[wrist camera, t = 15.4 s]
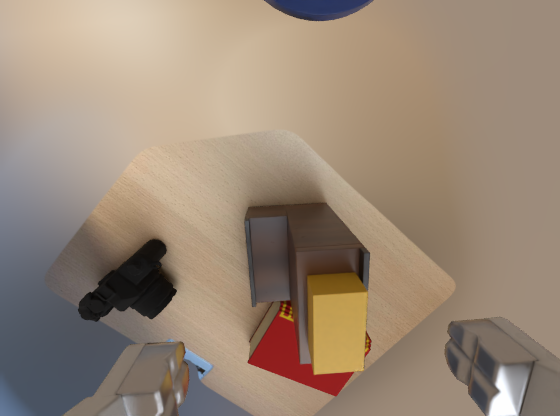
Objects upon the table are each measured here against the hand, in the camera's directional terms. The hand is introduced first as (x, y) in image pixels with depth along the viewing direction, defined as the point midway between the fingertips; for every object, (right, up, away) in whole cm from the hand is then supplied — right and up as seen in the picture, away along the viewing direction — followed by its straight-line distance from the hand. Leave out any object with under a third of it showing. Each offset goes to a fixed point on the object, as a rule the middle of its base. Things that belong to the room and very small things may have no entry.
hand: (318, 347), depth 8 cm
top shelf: (+4, -6, +21) cm, 22 cm away
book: (+4, -20, +42) cm, 47 cm away
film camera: (-24, -8, +38) cm, 45 cm away
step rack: (0, -2, +37) cm, 37 cm away
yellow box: (+4, -7, +20) cm, 21 cm away
